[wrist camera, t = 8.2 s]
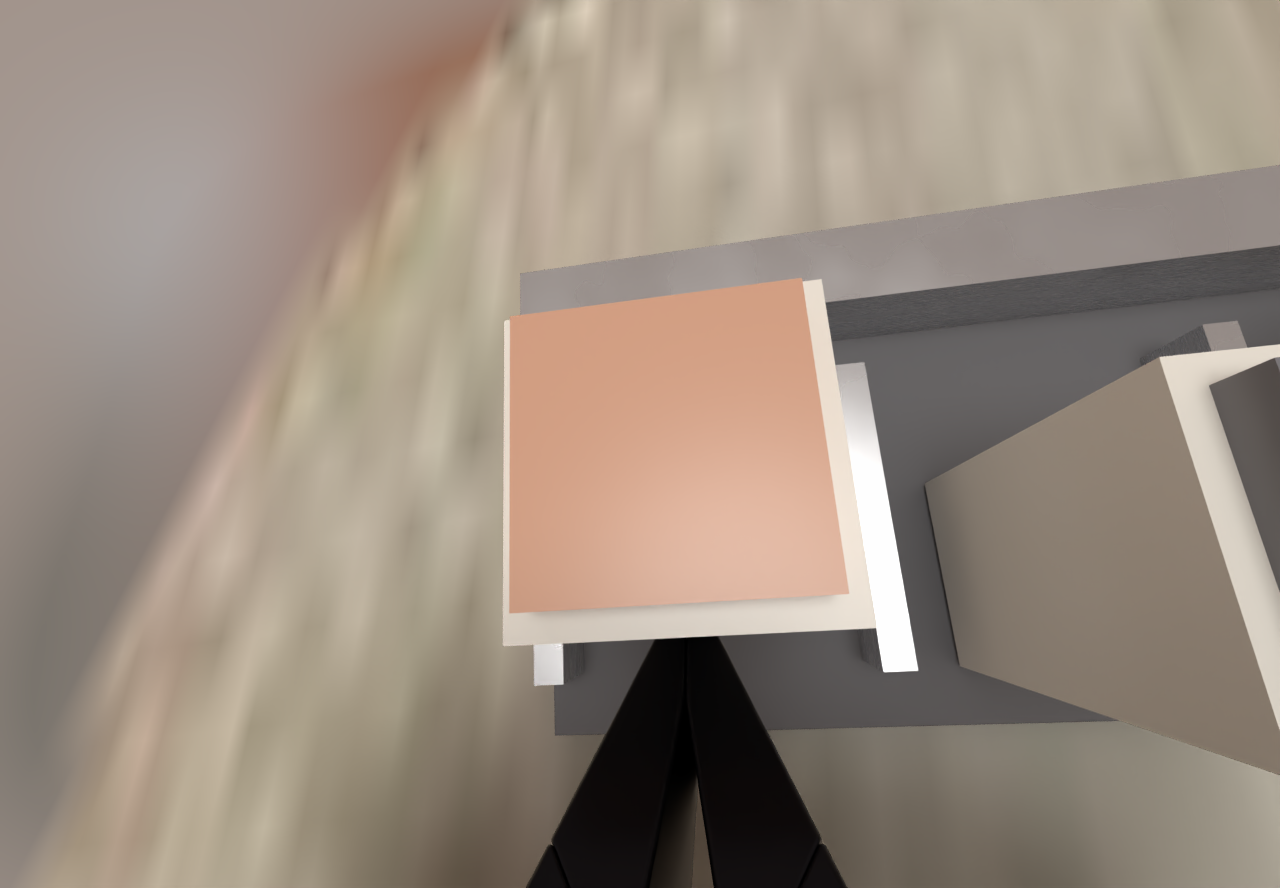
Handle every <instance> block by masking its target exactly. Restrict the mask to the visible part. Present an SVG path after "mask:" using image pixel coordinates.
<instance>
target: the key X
mask: <svg viewBox="0 0 1280 888" xmlns="http://www.w3.org/2000/svg"><path fill="white" fill-rule="evenodd" d="M925 488H926V493H927V498H928V503H929V509H930V514H931V519H932V524H933V529H934V535H935V540H936V545H937V550H938V555H939V560H940V566H941V571H942V576H943V581H944V586H945V591H946V597H947V602H948V607H949V612H950V617H951V623H952V628H953V633H954V638H955V643H956V648H957V654H958V659H959V664H960V666H961V667H964V668H967V669H969V670H972V671H975V672H978V673H981V674H984V675H987V676H990V677H993V678H996V679H999V680H1002V681H1005V682H1008V683H1011V684H1014V685H1016V686H1019V687H1022V688H1025V689H1028V690H1031V691H1034V692H1037V693H1040V694H1043V695H1046V696H1049V697H1052V698H1055V699H1058V700H1061V701H1064V702H1066V703H1069V704H1072V705H1075V706H1078V707H1081V708H1084V709H1087V710H1090V711H1093V712H1096V713H1099V714H1102V715H1105V716H1108V717H1111V718H1114V719H1116V720H1119V721H1122V722H1125V723H1128V724H1131V725H1134V726H1137V727H1140V728H1143V729H1146V730H1149V731H1152V732H1155V733H1158V734H1161V735H1164V736H1166V737H1169V738H1172V739H1175V740H1178V741H1181V742H1184V743H1187V744H1190V745H1193V746H1196V747H1199V748H1202V749H1205V750H1208V751H1211V752H1214V753H1216V754H1219V755H1222V756H1225V757H1228V758H1231V759H1234V760H1237V761H1240V762H1243V763H1246V764H1249V765H1252V766H1255V767H1258V768H1261V769H1264V770H1266V771H1269V772H1272V773H1275V774H1278V775H1280V344H1278V345H1269V346H1259V347H1250V348H1240V349H1231V350H1221V351H1212V352H1202V353H1193V354H1183V355H1173V356H1164V357H1158V358H1156V359H1155V360H1153V361H1151V362H1149V363H1147V364H1145V365H1143V366H1142V367H1140V368H1138V369H1136V370H1134V371H1132V372H1130V373H1129V374H1127V375H1125V376H1123V377H1121V378H1119V379H1117V380H1116V381H1114V382H1112V383H1110V384H1108V385H1106V386H1104V387H1103V388H1101V389H1099V390H1097V391H1095V392H1093V393H1091V394H1090V395H1088V396H1086V397H1084V398H1082V399H1080V400H1078V401H1077V402H1075V403H1073V404H1071V405H1069V406H1067V407H1065V408H1064V409H1062V410H1060V411H1058V412H1056V413H1054V414H1053V415H1051V416H1049V417H1047V418H1045V419H1043V420H1041V421H1040V422H1038V423H1036V424H1034V425H1032V426H1030V427H1028V428H1027V429H1025V430H1023V431H1021V432H1019V433H1017V434H1015V435H1014V436H1012V437H1010V438H1008V439H1006V440H1004V441H1002V442H1001V443H999V444H997V445H995V446H993V447H991V448H989V449H988V450H986V451H984V452H982V453H980V454H978V455H976V456H975V457H973V458H971V459H969V460H967V461H965V462H963V463H962V464H960V465H958V466H956V467H954V468H952V469H950V470H949V471H947V472H945V473H943V474H941V475H939V476H937V477H936V478H934V479H932V480H930V481H928V482H926V483H925Z"/></svg>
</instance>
